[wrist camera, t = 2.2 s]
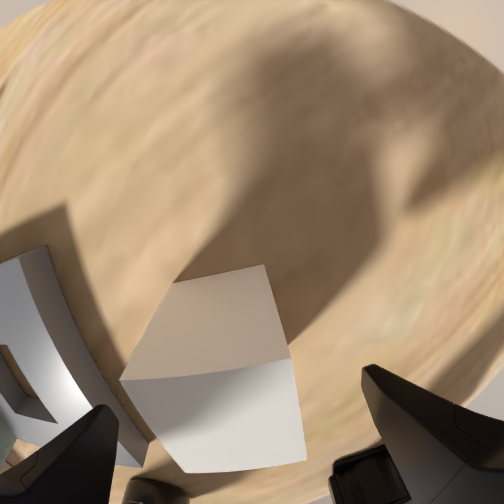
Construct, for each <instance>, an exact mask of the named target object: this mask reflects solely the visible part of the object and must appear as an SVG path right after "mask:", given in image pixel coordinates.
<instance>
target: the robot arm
mask: <svg viewBox="0 0 504 504" xmlns="http://www.w3.org/2000/svg"><path fill="white" fill-rule="evenodd" d="M361 387H362V391H363V393H364V396H365V399H366V401H367V404H368V407H369V410H370V412H371V415H372V418H373V421H374V423H375V426H376V428H377V430H378V432H379V434H380V436H381V438H382V440H383V442H384V443H385V446H382V447H380V448H377V449H374V450H372V451H369V452H366V453H363V454H360V455H358V456H355V457H351V458H348V459H345V460H342V461H339V462H336V463H334V464H333V465H332V476H330V477H329V483H328V486H329V490H330V494H331V497H332V501H333V504H504V421H502V420H499V419H495V418H491V417H488V416H485V415H482V414H479V413H476V412H474V411H471V410H469V409H466V408H464V407H462V406H459V405H457V404H453V402H451V401H449V400H446V399H444V398H442V397H440V396H438V395H436V394H434V393H432V392H430V391H428V390H426V389H423V388H421V387H419V386H417V385H415V384H413V383H411V382H409V381H407V380H405V379H403V378H401V377H399V376H397V375H395V374H393V373H392V372H390V371H388V370H386V369H384V368H382V367H380V366H378V365H376V364H371V365H368V366H365V367H363V368H362V378H361ZM118 433H119V420H118V418H117V416H116V415H115V414H114V412H113V411H112V409H111V408H110V407H109V406H108V405H106V404H98V405H96V406H95V407H94V408H93V409H91V410H90V411H89V412H87V413H86V414H85V415H84V416H82V417H81V418H80V419H78V420H77V421H76V422H74V423H73V424H72V425H71V426H69V427H68V428H67V429H65V430H64V431H63V432H61V433H60V434H59V435H57V436H56V437H55V438H53V439H52V440H51V441H49V442H48V443H47V444H45V445H44V446H43V447H41V448H40V449H39V450H37V451H36V452H35V453H33V454H32V455H30V456H29V457H28V458H26V459H25V460H23V461H21V462H20V463H18V464H17V465H15V466H13V467H11V468H10V469H8V470H6V471H4V472H3V473H1V474H0V504H109V497H110V491H111V484H112V478H113V472H114V467H115V461H116V454H117V443H118Z"/></svg>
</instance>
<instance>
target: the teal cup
mask: <svg viewBox="0 0 504 504" xmlns="http://www.w3.org/2000/svg"><path fill="white" fill-rule="evenodd" d="M15 441H16V436H15V435H14V434H13V433H12V431H11V430H10V429H9V428H8V427H7V425H6V424H5V423H4V422H3V421H2V419H1V418H0V471H1V470H2V468H3V465H4V464H5V461H6V457H7V456H8V455H9V454H10V452H11V450H12V448H13V446H14V443H15Z"/></svg>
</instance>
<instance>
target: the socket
mask: <svg viewBox="0 0 504 504" xmlns="http://www.w3.org/2000/svg"><path fill="white" fill-rule="evenodd" d="M0 345H7V346H8V348H9V350H10V351H11V353H12V355H13V357H14V359H15V360H16V362H17V364H18V366H19V367H20V369H21V371H22V372H23V374H24V376H25V377H26V379H27V380H28V382H29V384H30V385H31V387H32V388H33V390H34V391H35V393H36V394H37V395H38V397H39V398H40V399H39V398H33V397H27V395H26V394H25V392H24V391H23V389H22V388H21V386H20V385H19V383H18V382H17V380H16V379H15V377H14V375H13V374H12V372H11V371H10V369H9V367H8V365H7V364H6V362H5V360H4V358H3V357H2V355H1V353H0V418H1V419H2V421H3V422H4V423H5V424H6V425H7V427H8V428H9V429H10V430H11V431H12V433H13V434H14V435H15V436H16V437H17V438H18V439H20V440H22V441H25V442H28V443H31V444H33V445H36V446H39V447H43V446H44V445H45V444H47V443H48V442H49V441H51V440H52V439H53V438H55V437H56V436H57V435H59V434H60V433H61V432H63V431H64V430H65V429H67V428H68V427H69V426H71V425H72V424H73V423H74V422H76V421H77V420H78V419H80V418H81V417H82V416H84V415H85V414H86V413H87V412H89V411H90V410H91V409H93V408H94V407H95V406H96V405H98V404H106V405H108V406H109V407H110V408H111V409H112V411H113V412H114V414H115V415H116V416H117V418H118V420H119V433H118V443H117V454H116V461H115V465H122V466H130V467H139V468H143V465H144V461H145V457H146V453H147V449H148V446H149V443H148V442H147V441H146V439H145V438H144V437H143V435H142V434H141V433H140V431H139V430H138V429H137V427H136V426H135V425H134V423H133V422H132V421H131V419H130V418H129V416H128V415H127V414H126V412H125V411H124V409H123V408H122V406H121V405H120V403H119V402H118V400H117V399H116V397H115V395H114V394H113V392H112V391H111V389H110V388H109V386H108V384H107V383H106V381H105V379H104V378H103V376H102V374H101V372H100V371H99V369H98V367H97V365H96V363H95V362H94V360H93V358H92V356H91V354H90V352H89V350H88V348H87V346H86V344H85V343H84V340H83V338H82V336H81V334H80V332H79V330H78V328H77V326H76V324H75V321H74V319H73V317H72V315H71V312H70V310H69V308H68V305H67V303H66V300H65V298H64V295H63V293H62V290H61V287H60V285H59V282H58V279H57V276H56V274H55V271H54V268H53V265H52V262H51V258H50V255H49V252H48V249H47V245H44V246H41V247H39V248H36V249H33V250H31V251H28V252H25V253H23V254H20V255H18V256H15V257H13V258H10V259H8V260H5V261H3V262H0Z"/></svg>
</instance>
